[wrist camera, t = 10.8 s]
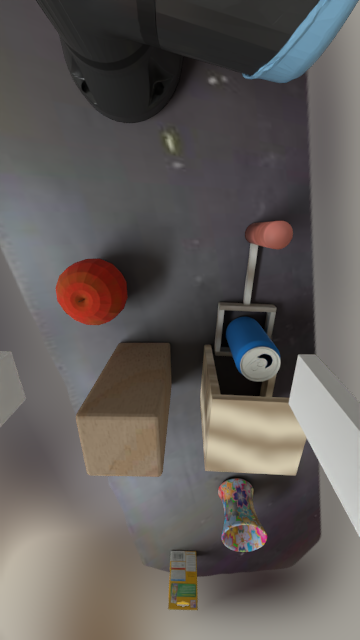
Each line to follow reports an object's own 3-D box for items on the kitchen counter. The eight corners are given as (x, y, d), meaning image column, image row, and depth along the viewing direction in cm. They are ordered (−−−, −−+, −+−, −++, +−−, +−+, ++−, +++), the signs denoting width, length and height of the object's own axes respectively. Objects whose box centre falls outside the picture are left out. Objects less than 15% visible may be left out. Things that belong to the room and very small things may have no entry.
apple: (70, 297, 44) (32, 320, 34) (85, 244, 41) (49, 250, 30) (123, 319, 46) (103, 347, 35) (142, 269, 42) (126, 283, 31)
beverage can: (266, 334, 46) (292, 369, 35) (237, 352, 47) (252, 391, 36) (248, 308, 44) (269, 335, 33) (218, 327, 46) (228, 360, 34)
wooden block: (170, 341, 47) (158, 417, 28) (171, 385, 50) (162, 478, 32) (118, 341, 47) (73, 416, 28) (123, 385, 51) (86, 477, 32)
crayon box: (171, 556, 71) (168, 615, 60) (170, 550, 70) (167, 609, 59) (196, 556, 71) (197, 616, 60) (196, 550, 70) (197, 610, 59)
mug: (212, 477, 59) (217, 527, 49) (250, 471, 58) (263, 521, 48) (223, 509, 63) (229, 562, 53) (259, 504, 62) (272, 556, 52)
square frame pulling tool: (226, 221, 39) (240, 219, 29) (286, 223, 39) (323, 222, 28) (214, 350, 47) (221, 384, 37) (264, 352, 47) (286, 387, 36)
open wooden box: (204, 344, 47) (212, 399, 32) (274, 347, 47) (315, 404, 32) (200, 400, 51) (205, 470, 36) (264, 403, 51) (295, 475, 36)
